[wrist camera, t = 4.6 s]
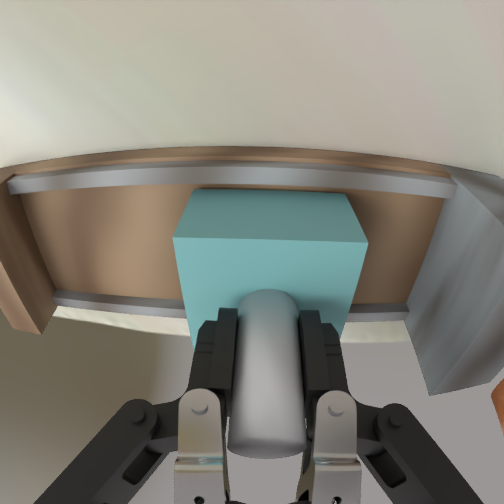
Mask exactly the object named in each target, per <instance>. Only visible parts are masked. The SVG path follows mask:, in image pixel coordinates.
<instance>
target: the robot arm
mask: <svg viewBox="0 0 504 504" xmlns="http://www.w3.org/2000/svg"><path fill="white" fill-rule="evenodd" d="M237 327H238V308H222V307H219V311H218V318H217V321H213V320H205V322H204V323H203V324H202V326H201V327H200V328H199V330H198V335H197V340H196V345H195V352H194V356H193V361H192V367H191V373H190V378H189V384H188V388H187V390H186V391H185V393H184V394H183V395H182V396H181V397H180V398H178V399H177V400H175V401H172V402H168V403H163V404H157V405H152V404H151V403H149V402H148V401H146V400H143V399H133V400H130V401H128V402H126V403H125V404H124V405H123V406H122V407H121V408H120V409H119V410H118V411H117V413H116V414H115V415H114V416H113V417H112V418H111V419H110V420H109V421H108V423H107V424H106V425H105V426H104V427H103V428H102V429H101V430H100V432H98V434H97V435H96V436H95V437H94V438H93V439H92V440H91V441H90V442H89V444H88V445H87V446H86V447H85V448H84V449H83V450H82V451H81V452H80V453H79V454H78V456H77V457H76V458H75V459H74V460H73V461H72V462H71V463H70V464H69V465H68V467H67V468H66V469H65V470H64V471H63V472H62V473H61V474H60V475H59V476H58V477H57V479H56V480H55V481H54V482H53V483H52V484H51V485H50V486H49V487H48V488H47V489H46V491H45V492H44V493H43V494H42V495H41V496H40V497H39V498H38V499H37V500H36V501H35V503H34V504H128V502H129V501H130V500H131V499H132V498H133V497H134V495H135V494H136V493H137V492H138V490H139V489H140V488H141V487H142V486H143V484H144V483H145V482H146V481H147V480H148V479H149V477H150V476H151V475H152V474H153V472H154V471H155V470H156V469H157V467H158V466H159V465H160V464H161V462H162V461H163V460H164V459H165V457H166V456H167V455H168V454H169V452H173V451H178V457H177V459H176V461H175V465H174V504H245V503H241V502H238V501H231V497H230V485H229V478H228V467H227V452H226V437H225V433H226V425H227V424H226V423H227V417H230V407H231V400H232V388H233V376H234V363H235V351H236V339H237ZM298 328H299V339H300V351H301V364H302V377H303V392H304V407H305V418H306V425H307V428H306V442H307V448H306V449H305V450H304V451H303V456H302V466H301V474H300V479H299V482H298V486H297V492H296V500H295V502H294V503H290V504H334V503H335V500H336V502H337V504H360V498H361V475H362V470H361V464H360V462H359V461H358V460H357V456H356V455H357V454H358V456H359V457H360V459H361V460H362V461H363V463H364V464H365V465H366V467H367V468H368V470H369V471H370V472H371V474H372V475H373V477H374V478H375V479H376V481H377V482H378V483H379V485H380V486H381V488H382V489H383V490H384V491H385V493H386V494H387V496H388V497H389V498H390V500H391V501H392V503H393V504H483V502H482V501H481V500H480V498H479V497H478V496H477V494H476V493H475V492H474V491H473V489H472V488H471V487H470V486H469V484H468V483H467V482H466V480H465V479H464V478H463V477H462V475H461V474H460V473H459V471H458V470H457V469H456V468H455V466H454V465H453V464H452V463H451V461H450V460H449V459H448V458H447V456H446V455H445V454H444V452H443V451H442V450H441V449H440V448H439V446H438V445H437V444H436V442H435V441H434V440H433V439H432V438H431V436H430V435H429V434H428V433H427V431H426V430H425V429H424V428H423V426H422V425H421V424H420V423H419V421H418V420H417V419H416V418H415V416H414V415H413V414H412V413H411V412H410V410H408V408H407V407H405V406H403V405H401V404H397V403H395V404H394V403H393V404H389V405H386V406H385V407H383V408H377V407H372V406H368V405H364V404H361V403H359V402H358V401H356V400H355V399H354V398H353V397H352V396H351V394H350V392H349V390H348V385H347V379H346V373H345V367H344V361H343V356H342V351H341V347H340V339H339V334H338V332H337V330H336V329H335V328H334V326H333V325H332V323H321V319H320V313H319V310H300V311H299V317H298Z"/></svg>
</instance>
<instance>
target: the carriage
mask: <svg viewBox="0 0 504 504" xmlns="http://www.w3.org/2000/svg"><path fill="white" fill-rule="evenodd" d="M173 244H174V250H175V256H176V262H177V268H178V273H179V279H180V284H181V290H182V295H183V300H184V306H185V311H186V316H187V320H188V325H189V330H190V335H191V339H192V344H193V348H194V352H195V345H196V340H197V335H198V330H199V328H200V327H201V326H202V324H203V323H204V322H205V320H213V321H217V318H218V311H219V307H222V308H238V327H237V339H236V351H235V363H234V376H233V388H232V400H231V407H230V420H229V432H228V445H227V448H228V450H229V451H231V452H232V453H234V454H237V455H241V456H245V457H250V458H260V459H273V458H283V457H289V456H293V455H296V454H299V453H301V452H303V451H304V450H305V449H306V448H307V442H306V423H305V407H304V392H303V377H302V364H301V351H300V339H299V328H298V317H299V311H300V310H319V313H320V319H321V323H332V325H333V326H334V328H335V329H336V330H337V332H338V334H339V339H340V337H341V334H342V331H343V328H344V325H345V322H346V319H347V316H348V313H349V309H350V306H351V303H352V300H353V297H354V293H355V290H356V287H357V283H358V280H359V276H360V273H361V269H362V265H363V262H364V258H365V254H366V251H367V247H368V241H367V238H366V236H365V234H364V232H363V230H362V228H361V225H360V223H359V221H358V219H357V217H356V215H355V213H354V211H353V209H352V207H351V205H350V203H349V201H348V199H347V197H346V195H345V194H340V193H323V192H304V191H279V190H241V189H194V190H193V192H192V194H191V196H190V198H189V201H188V203H187V205H186V207H185V210H184V212H183V214H182V216H181V219H180V221H179V223H178V226H177V228H176V230H175V233H174V235H173Z"/></svg>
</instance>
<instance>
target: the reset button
mask: <svg viewBox="0 0 504 504" xmlns="http://www.w3.org/2000/svg"><path fill="white" fill-rule="evenodd" d="M491 398H492V401H493V404H494V406H495V409H496V412H497V415H498V418H499V421H500V424H501V428H502V431H503V434H504V379H503V380H502V381H501V382H500V383H499V384H498V385H497V386H496V388H495V389H494V390H493V392H492V394H491Z"/></svg>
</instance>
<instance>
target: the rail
mask: <svg viewBox="0 0 504 504" xmlns="http://www.w3.org/2000/svg"><path fill="white" fill-rule="evenodd" d="M194 189H241V190H279V191H304V192H323V193H340V194H345V195H346V197H347V199H348V201H349V203H350V205H351V207H352V209H353V211H354V213H355V215H356V217H357V219H358V221H359V223H360V225H361V228H362V230H363V232H364V234H365V236H366V238H367V241H368V247H367V251H366V254H365V258H364V262H363V265H362V269H361V273H360V276H359V280H358V283H357V287H356V290H355V293H354V297H353V300H352V303H351V306H350V309H349V313H348V316H347V319H346V322H373V321H397V320H404V322H405V324H406V327H407V330H408V332H409V335H410V338H411V341H412V344H413V346H414V349H415V352H416V355H417V358H418V361H419V364H420V367H421V370H422V374H423V377H424V380H425V383H426V386H427V389H428V393H429V396H431V395H436V394H442V393H447V392H451V391H456V390H460V389H464V388H469V387H473V386H477V385H481V384H485V383H488V382H490V381H491V380H492V379H493V378H494V377H495V376H496V375H497V374H498V373H499V371H500V370H501V369H502V368H503V367H504V181H503V180H502V179H501V178H499V177H498V176H494V175H490V174H486V173H481V172H477V171H472V170H467V169H462V168H457V167H452V166H446V165H441V164H435V163H429V162H423V161H417V160H410V159H403V158H396V157H388V156H380V155H372V154H363V153H353V152H342V151H330V150H317V149H301V148H280V147H239V146H218V147H177V148H157V149H141V150H128V151H116V152H106V153H96V154H87V155H79V156H71V157H64V158H57V159H50V160H44V161H38V162H32V163H26V164H21V165H15V166H10V167H5V168H0V308H1V310H2V311H3V313H4V314H5V316H6V318H7V319H8V321H9V322H10V324H11V326H12V327H13V328H14V329H17V330H22V331H26V332H30V333H34V334H39V335H42V333H43V331H44V330H45V328H46V326H47V324H48V322H49V321H50V318H51V317H52V315H53V313H54V312H55V310H56V308H57V306H65V307H73V308H81V309H89V310H97V311H106V312H115V313H125V314H136V315H147V316H159V317H172V318H187V316H186V311H185V306H184V300H183V295H182V290H181V284H180V279H179V273H178V268H177V262H176V256H175V250H174V244H173V235H174V233H175V230H176V228H177V226H178V223H179V221H180V219H181V216H182V214H183V212H184V210H185V207H186V205H187V203H188V201H189V198H190V196H191V194H192V192H193V190H194Z"/></svg>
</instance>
